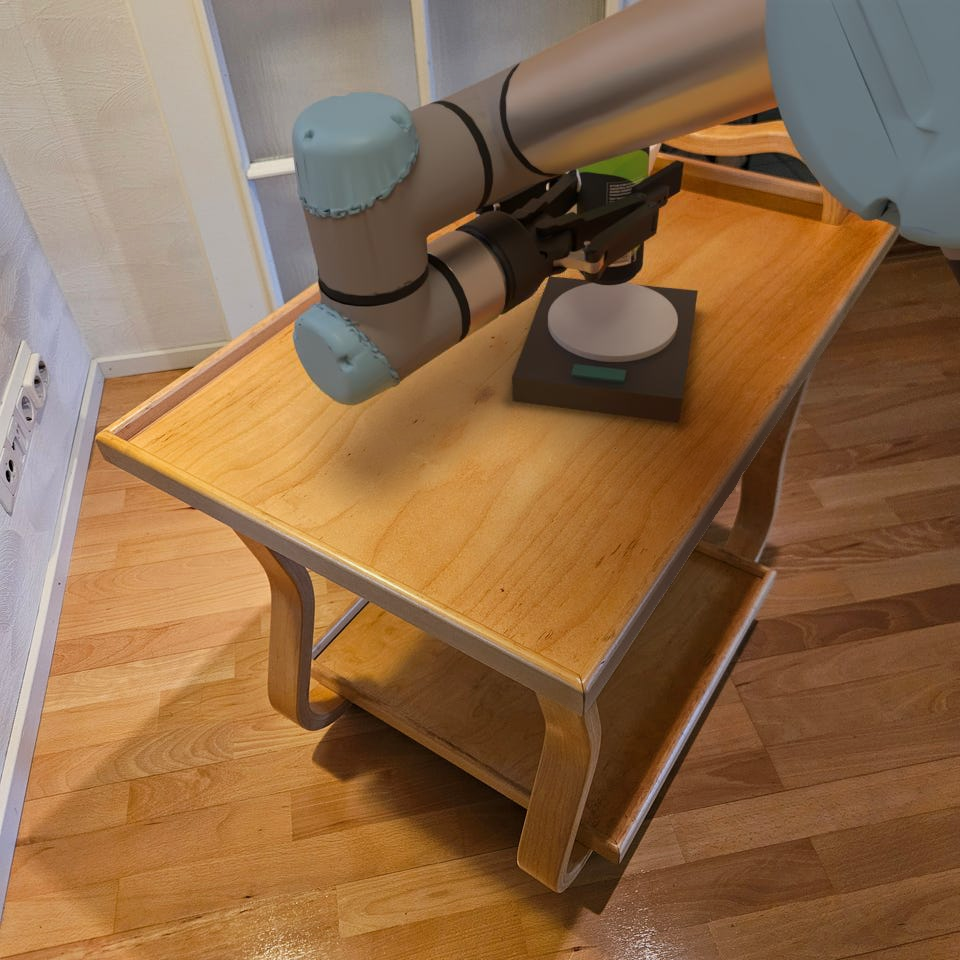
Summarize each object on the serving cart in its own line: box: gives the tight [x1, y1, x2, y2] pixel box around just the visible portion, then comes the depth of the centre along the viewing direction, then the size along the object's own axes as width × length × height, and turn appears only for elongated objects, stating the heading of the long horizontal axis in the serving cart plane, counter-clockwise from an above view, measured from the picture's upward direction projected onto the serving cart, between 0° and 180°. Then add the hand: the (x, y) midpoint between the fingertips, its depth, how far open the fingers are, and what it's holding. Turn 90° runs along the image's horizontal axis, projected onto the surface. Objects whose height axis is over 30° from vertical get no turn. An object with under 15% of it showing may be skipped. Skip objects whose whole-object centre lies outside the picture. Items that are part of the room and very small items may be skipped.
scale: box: [511, 275, 699, 424], centre depth 84 cm, size 16×18×4 cm
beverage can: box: [577, 146, 650, 285], centre depth 74 cm, size 6×6×15 cm
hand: (654, 168), depth 76 cm, fingers closed on beverage can, 4 cm apart
